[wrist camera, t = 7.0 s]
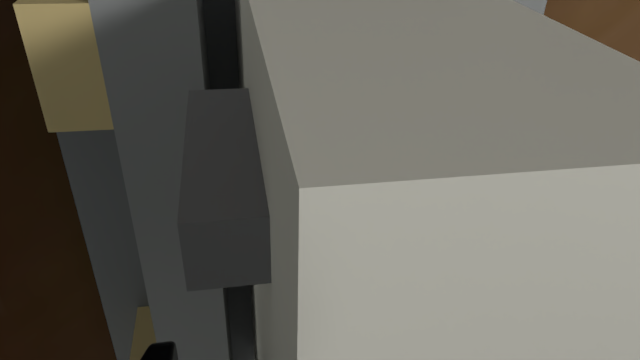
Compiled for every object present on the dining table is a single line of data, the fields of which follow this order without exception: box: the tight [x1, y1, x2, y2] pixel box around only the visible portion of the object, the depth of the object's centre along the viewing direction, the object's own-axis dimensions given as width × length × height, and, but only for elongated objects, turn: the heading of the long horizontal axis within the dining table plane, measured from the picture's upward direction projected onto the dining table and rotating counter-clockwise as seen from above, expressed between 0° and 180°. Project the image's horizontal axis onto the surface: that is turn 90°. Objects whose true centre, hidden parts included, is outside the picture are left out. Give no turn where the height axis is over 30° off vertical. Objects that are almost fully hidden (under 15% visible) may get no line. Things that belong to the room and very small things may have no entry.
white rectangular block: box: [177, 0, 640, 360], centre depth 10 cm, size 13×4×9 cm, turn 178°
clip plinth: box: [13, 0, 547, 360], centre depth 13 cm, size 16×11×4 cm
